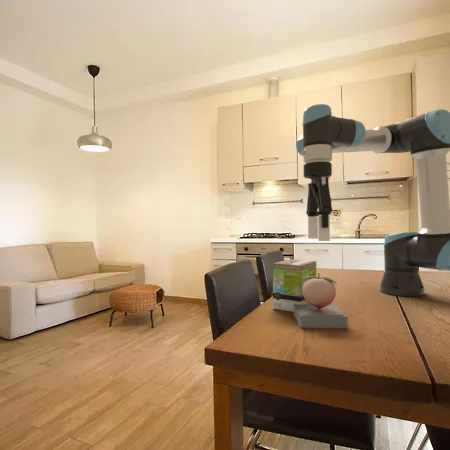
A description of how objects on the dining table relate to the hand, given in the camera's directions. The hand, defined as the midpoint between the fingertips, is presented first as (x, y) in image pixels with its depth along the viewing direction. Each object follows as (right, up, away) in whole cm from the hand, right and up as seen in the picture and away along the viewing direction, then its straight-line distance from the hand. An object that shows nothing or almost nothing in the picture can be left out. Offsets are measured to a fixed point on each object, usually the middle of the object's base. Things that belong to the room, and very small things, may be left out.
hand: (318, 239), depth 88 cm
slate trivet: (0, -23, 0) cm, 23 cm away
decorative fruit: (0, -20, 0) cm, 20 cm away
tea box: (-3, -23, +16) cm, 28 cm away
